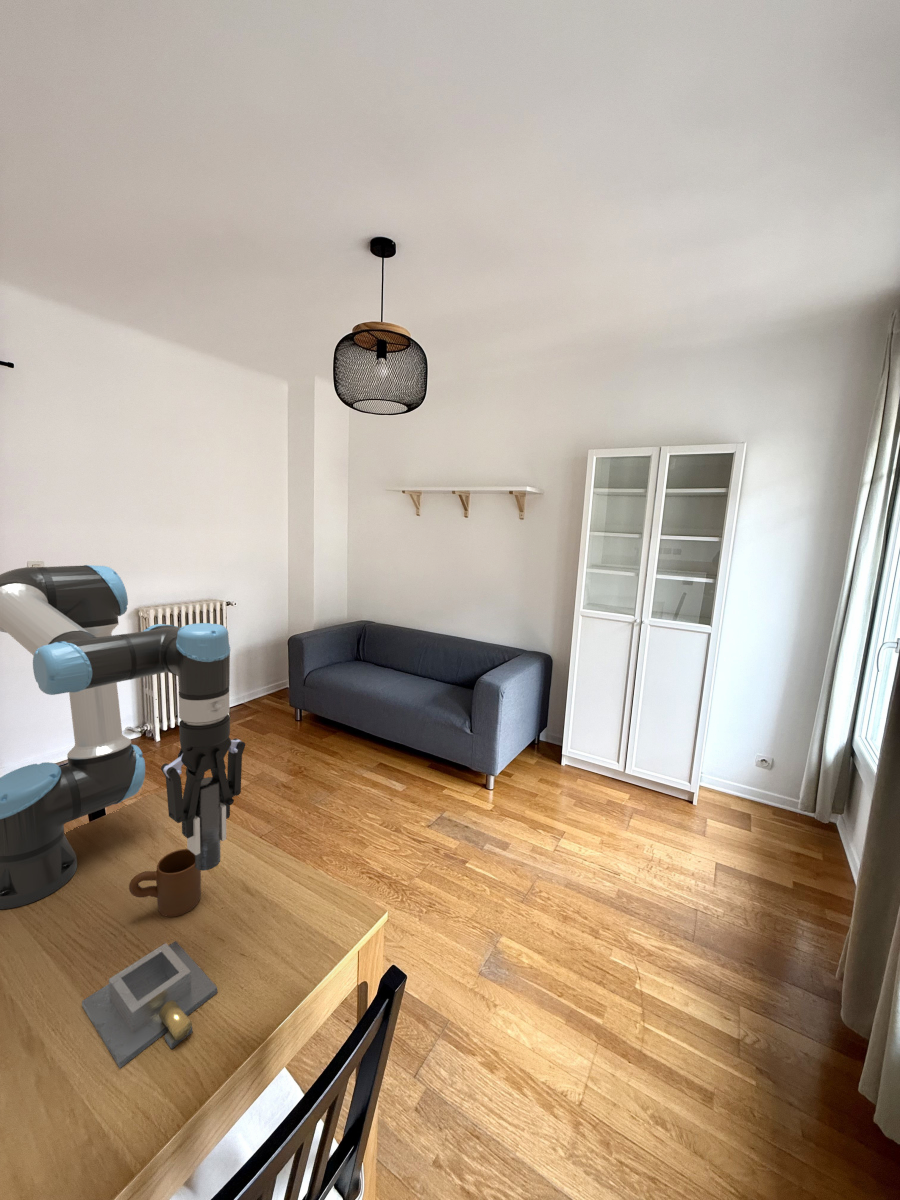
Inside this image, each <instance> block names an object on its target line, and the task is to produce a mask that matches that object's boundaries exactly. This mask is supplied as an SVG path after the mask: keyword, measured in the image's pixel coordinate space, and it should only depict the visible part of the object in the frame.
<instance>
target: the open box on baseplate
mask: <svg viewBox="0 0 900 1200" xmlns="http://www.w3.org/2000/svg"><path fill="white" fill-rule="evenodd" d="M217 994H218V986H217V985H216V984H215V983H214V982H213V981H212V980H211V979H210V977H209V976H208V975H207V974H206V973H205V972H204V970H202V969H201V967H200V966H199V965H198V964H197V963H196V962H195V961H194V959H192V957H191V956H190V955H189V954H188V953H187V951H185V950H184V948H183V947H182V946H181V945H180V944H179V943H178V942H177V941H176V940H175V941H173V942H171V943H170V944H168V943H166V942H165V943H163V944H162V945H160V946H159V947H157V948H156V949H154V950H153V951H151V952H149V953H148V954H146V955H144V956H142V957H141V958H140V959H138V960H137V961H135V962H134V963H132V964H130V965H129V966H127V967H126V968H124V969H123V970H121V971H119V972H117V973H116V974H115V975H113V976H111V977H110V978H109V979H108V984H106V985H105V986H102V988H100V989H99V990H97V991H95V992H94V993H92V994H90V995H89V996H88V997H86V998H84V999H83V1000H81V1007H82V1009H83V1010H84V1012H85V1013H86V1015H87V1017H88V1018H89V1019H90V1021H91V1023H92V1025H93V1027H94V1028H95V1030H96V1032H97V1033H98V1035H99V1037H100V1038H101V1040H102V1042H103V1043H104V1046H105V1047H106V1049H107V1050H108V1052H109V1053H110V1055H111V1057H112V1058H113V1060H114V1062H115V1063H116V1065H117V1067H118V1069H122V1068H123V1067H124V1066H125V1065H127V1064H128V1063H129V1062H131V1061H132V1060H133V1059H134V1058H136V1057H137V1056H138V1055H139V1054H141V1053H142V1052H143V1051H144V1050H145V1049H147V1048H148V1047H150V1046H151V1045H152V1044H154V1043H155V1042H156V1041H157V1040H159V1039H160V1038H161V1037H163V1036H164V1041H165V1042H166V1045H168V1046H169V1048H170V1049H171V1050H173V1049H174V1048H175V1047H177V1046H178V1045H179V1044H180V1043H181V1042H182V1041H183V1040H186V1039H187V1038H188V1037H189V1036H190V1035H192V1033H193V1026H192V1025H193V1023H192V1021H191V1019H190V1018H189V1017H188V1016H189V1015H191V1014H192V1013H193V1012H194V1011H196V1010H197V1009H199V1008H200V1007H201V1006H203V1004H205V1003H206V1002H207V1001H209V1000H210V999H211V998H213V997H214V996H215V995H217Z"/></svg>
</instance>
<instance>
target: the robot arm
mask: <svg viewBox="0 0 900 1200" xmlns="http://www.w3.org/2000/svg"><path fill="white" fill-rule="evenodd" d="M128 605H129V599H128V593H127V590H126V587H125V584H124V582H123V580H122V579H121V577H120V575H119V574H118V573H117V571H115V569H113V568H112V567H110V566H106V565H88V564H84V565H67V566H65V565H63V566H62V565H61V566H60V565H59V566H38V567H36V566H30V567H29V566H28V567H27V566H26V567H21V568H15V569H12V570H8V571H6V572H3V573H0V633H1V632H2V633H6V634H8V635H9V636H10V637H12V639H14V640H15V641H16V642H18V643H19V644H20V645H21V646H22V647H23V648H24V649H26V651H28V652H29V653H30V655H32V656H33V658H32V670H33V675H34V679H35V682H36V683H37V684H38V688H39V690H40V691H41V692H42V693H44V694H46V695H50V696H55V695H60V694H61V695H62V694H66V693H68V694H69V702H70V704H69V705H70V711H71V712H70V713H71V720H72V729H73V739H74V745H73V747H72V748H71V750H69V751H68V753H67V754H66V755H67V764H65V765H61V766H60V765H58V764H57V763H55V762H50V761H49V762H41V763H33V764H32V763H31V764H29V765H25V766H22V767H19V768H17V769H14V770H11V771H10V772H8V773H5V774H4V775H2V776H0V910H6V909H7V910H8V909H13V908H17V907H18V908H19V907H22V906H23V907H24V906H25V905H29V904H32V903H34V902H37V901H39V900H42V899H43V898H46V897H48V896H49V895H51V894H53V893H55V892H56V891H58V890H59V889H61V888H62V887H64V886H65V885H66V884H67V883H68V882H69V881H70V880H71V879H72V878H73V877H74V875H75V874H76V872H77V870H78V869H77V868H78V859H77V854H76V852H75V850H74V849H73V847H72V845H71V843H70V842H69V840H68V839H67V837H66V835H65V824H67V823H70V822H72V821H75V820H77V819H80V818H82V817H84V816H87V815H90V814H92V813H95V812H97V811H100V810H102V809H105V808H108V807H110V806H113V805H118V804H120V803H122V802H123V801H125V800H127V799H129V798H131V797H134V796H135V795H136V794H138V793H139V791H140V789H142V787H143V785H144V781H145V777H146V761H145V758H144V757H143V755H144V754H143V751H142V750H141V748H140V747H139V746H138V745H137V744H132V740H131V738H129V737H126V736H125V735H124V734H123V729H122V720H121V711H120V699H119V692H118V683H119V682H120V683H121V682H124V681H130V680H136V679H140V678H145V677H149V676H153V675H154V676H155V675H159V674H164V673H170V674H171V675H174V676H177V681H178V683H177V685H178V718H179V720H180V721H179V722H178V723H179V729H178V730H179V743H180V750H179V752H178V754H177V758H176V759H175V760H173V761H172V762H170V763H164V764H162V765H161V767H160V770H161V771H162V773H163V775H164V777H165V783H166V797H167V798H166V799H167V811H168V812H167V813H168V817H169V818H171V820H173V821H174V822H175V823H177V824H179V823H181V833H182V836H184V837H185V838H186V839H187V841H186V843H187V845H186V846H187V848H186V849H189V850H190V851H191V852H192V853H194V854H195V855H198V854H200V818H199V817H198V816H196V815H195V813H196V808H197V802H198V797H199V791H200V786H201V781H202V780H203V779H204V778H205V773H206V772H207V771H209V770H210V772H211V777H214V778H215V779H217V780H218V781H220V842H223V841H226V840H227V819H229V818H230V816H231V805H234V802H235V799H233V798H234V797H236V796H239V795H240V794H241V792H242V773H243V772H242V769H243V768H242V767H243V766H242V765H243V753H244V750H245V748H246V743H245V742H244V741H242V740H241V739H238V738H233V739H231V738H230V734H231V716H230V715H229V713H230V711H231V710H230V677H231V675H230V672H231V671H230V670H231V665H230V664H231V663H230V662H231V660H230V659H231V658H230V657H231V646H230V638H229V631H228V628H226V626H224V625H222V624H220V623H219V624H218V623H209V622H206V623H205V622H201V623H200V622H199V623H190V624H186V625H183V626H182V627H179V626H177V625H173V624H165V623H157V624H152V625H150V626H148V627H146V628H145V629H144V630H141V631H137V632H129V633H122V634H114V635H112V633H113V631H114V630H115V629H116V627H118V625H119V617H121V616H123V615H125V614H126V612H127V610H128ZM226 755H227V768H226V764H225V759H224V758H225V756H226ZM182 766H185V767H186V769H185V776H186V779H185V783H184V784H185V785H184V789H183V787H182V786H183V785H182V784H183V783H182V779H181V775H182V773H183V772H182ZM226 769H227V771H226ZM226 772H227V773H226Z"/></svg>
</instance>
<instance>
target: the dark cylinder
mask: <svg viewBox="0 0 900 1200" xmlns="http://www.w3.org/2000/svg"><path fill="white" fill-rule="evenodd" d="M195 815H196V816H198V817H199V818H200V854H198V855H195V868H196V869H198V870H201V871H209V870H212V869H214V868H216V867H217V866H218V865H219V864H220V862H221V840H220V781H218V780H217V779H215V778H214V777H212V776H210V777H204V779H203V780H202V781H201V786H200V791H199V797H198V802H197V808H196V813H195Z"/></svg>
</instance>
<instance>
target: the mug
mask: <svg viewBox="0 0 900 1200" xmlns="http://www.w3.org/2000/svg"><path fill="white" fill-rule="evenodd" d="M201 871H202V870H198V869H196V868H195V854H194V853H192V852H191V851H190V850H189V849H187V848H181V849H176V850H174V851H172V852H169V853H167V854H166V855H164V856H163V857H162V858H161V859H160V860H159V862H158V863H157V864H156V870H153V871H152V870H146V871H145V870H144V871H142V872H139V873H137V874H136V875H135V876H134V877H132V878H131V880H130V883H129V885H128V890H129V893H130V894H131V895H132V896H134V897H136V898H141V899H142V898H146V897H153V898H157V899H156V901H157V902H156V903H157V909H158V912H159V913H160V914H161V915H162V916H163V917H170V918H171V917H172V918H174V917H178V916H181V915H184V914H186V913H188V912H190V911H191V910H193V909H194V908H195V907H196V906H197V905H198V903H199V902H200V899H201V895H202V872H201ZM144 881H147V882H148V881H151V882H153V881H155V882H156V885H149V886H145V887H142V886H140V883H141V882H144Z"/></svg>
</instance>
